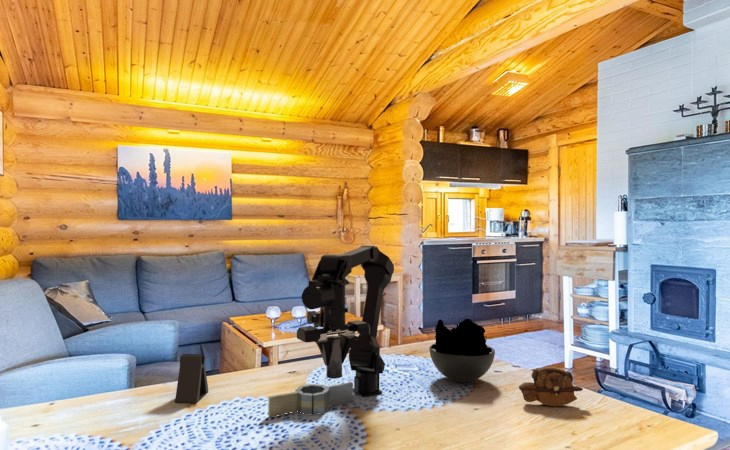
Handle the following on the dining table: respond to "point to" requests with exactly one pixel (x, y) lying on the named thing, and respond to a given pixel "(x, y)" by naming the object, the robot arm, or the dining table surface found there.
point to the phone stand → (191, 379)
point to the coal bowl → (461, 351)
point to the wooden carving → (550, 387)
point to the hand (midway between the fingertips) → (334, 364)
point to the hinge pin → (334, 358)
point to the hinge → (310, 399)
